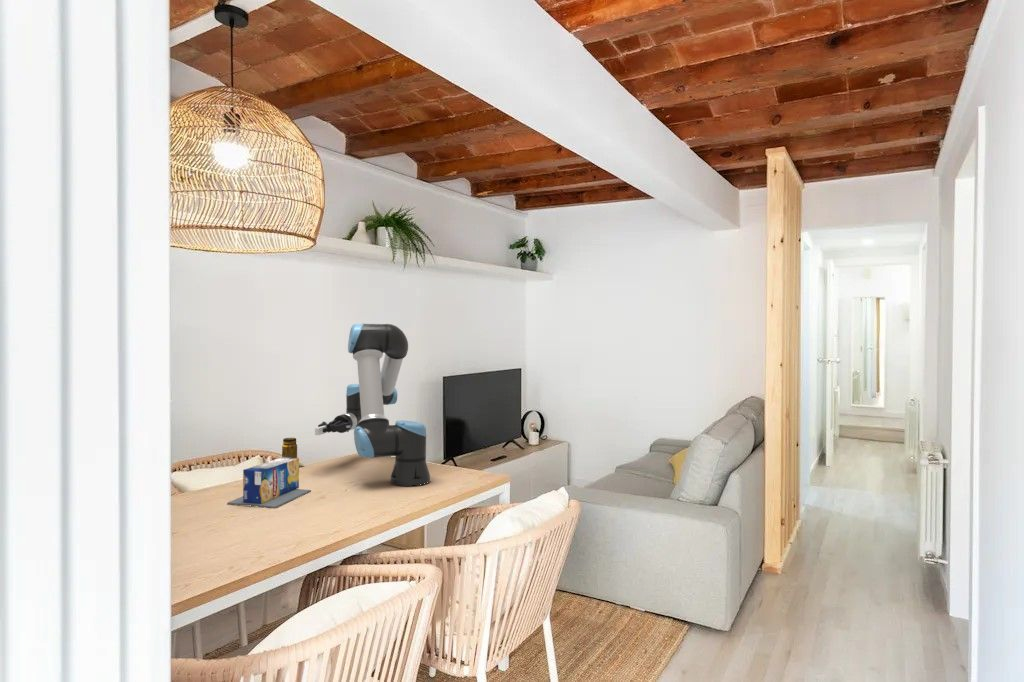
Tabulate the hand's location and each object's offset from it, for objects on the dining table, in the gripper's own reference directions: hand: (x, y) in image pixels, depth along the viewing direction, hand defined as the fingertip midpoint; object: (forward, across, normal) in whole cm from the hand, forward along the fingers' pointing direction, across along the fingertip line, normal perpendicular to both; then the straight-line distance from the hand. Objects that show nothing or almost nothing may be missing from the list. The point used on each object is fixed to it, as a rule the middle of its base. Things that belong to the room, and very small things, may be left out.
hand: (316, 431), depth 252 cm
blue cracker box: (+18, 0, -12) cm, 22 cm away
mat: (+31, 0, -18) cm, 36 cm away
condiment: (-15, +20, -18) cm, 31 cm away
